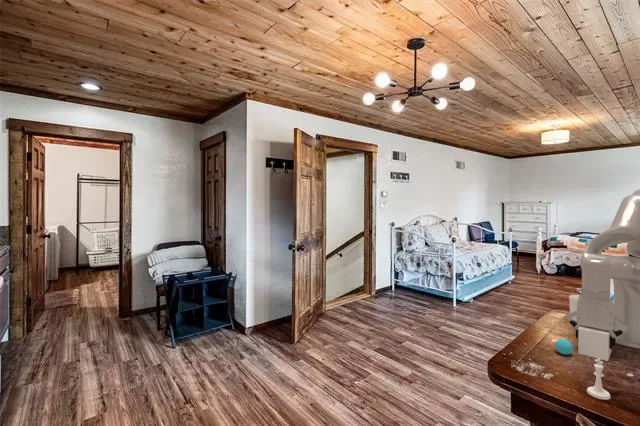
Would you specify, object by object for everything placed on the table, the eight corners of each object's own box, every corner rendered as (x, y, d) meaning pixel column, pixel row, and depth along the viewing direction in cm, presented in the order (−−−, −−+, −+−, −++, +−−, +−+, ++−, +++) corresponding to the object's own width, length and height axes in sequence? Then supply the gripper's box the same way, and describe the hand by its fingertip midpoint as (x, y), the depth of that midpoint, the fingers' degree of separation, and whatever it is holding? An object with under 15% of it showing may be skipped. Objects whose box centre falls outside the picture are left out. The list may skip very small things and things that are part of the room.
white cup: (596, 323, 139) (596, 300, 139) (574, 322, 141) (575, 299, 140) (585, 317, 147) (585, 295, 146) (565, 316, 148) (565, 294, 148)
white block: (583, 344, 120) (583, 320, 120) (611, 351, 115) (611, 326, 114) (578, 353, 114) (578, 328, 113) (608, 361, 108) (608, 334, 108)
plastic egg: (562, 349, 117) (562, 335, 116) (576, 356, 112) (576, 341, 112) (551, 351, 116) (551, 337, 115) (564, 358, 111) (564, 343, 111)
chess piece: (603, 401, 87) (604, 364, 87) (582, 391, 92) (583, 356, 91) (614, 396, 89) (614, 360, 89) (593, 387, 94) (593, 352, 93)
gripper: (562, 291, 117) (562, 340, 118) (629, 301, 104) (628, 356, 105) (566, 287, 122) (566, 333, 123) (631, 296, 110) (630, 348, 110)
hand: (595, 343), depth 114 cm, fingers closed on white block, 7 cm apart
